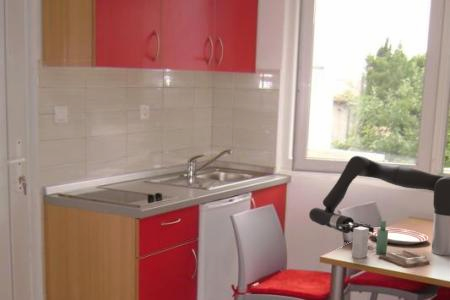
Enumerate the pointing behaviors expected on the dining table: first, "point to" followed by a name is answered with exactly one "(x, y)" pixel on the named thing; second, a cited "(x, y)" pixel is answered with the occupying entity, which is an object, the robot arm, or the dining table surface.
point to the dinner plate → (402, 236)
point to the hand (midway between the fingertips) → (365, 230)
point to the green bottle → (382, 239)
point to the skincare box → (360, 242)
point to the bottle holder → (405, 259)
